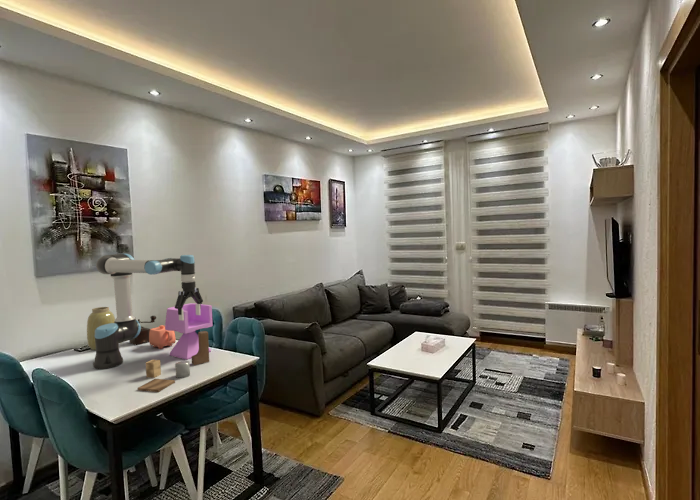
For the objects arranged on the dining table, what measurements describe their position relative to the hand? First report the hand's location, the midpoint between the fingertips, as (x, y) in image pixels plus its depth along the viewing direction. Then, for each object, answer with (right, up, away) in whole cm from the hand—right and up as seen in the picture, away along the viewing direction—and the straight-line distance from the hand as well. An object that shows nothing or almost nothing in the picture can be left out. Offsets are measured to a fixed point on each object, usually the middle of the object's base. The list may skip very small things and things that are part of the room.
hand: (190, 317), depth 230 cm
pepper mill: (-53, -26, +49) cm, 77 cm away
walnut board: (-4, -29, -32) cm, 43 cm away
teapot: (-34, -26, +37) cm, 57 cm away
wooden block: (+5, -27, +2) cm, 28 cm away
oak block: (-13, -29, -17) cm, 36 cm away
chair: (-8, -27, +20) cm, 34 cm away
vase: (-74, -27, +37) cm, 87 cm away
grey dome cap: (+4, -28, -18) cm, 34 cm away
